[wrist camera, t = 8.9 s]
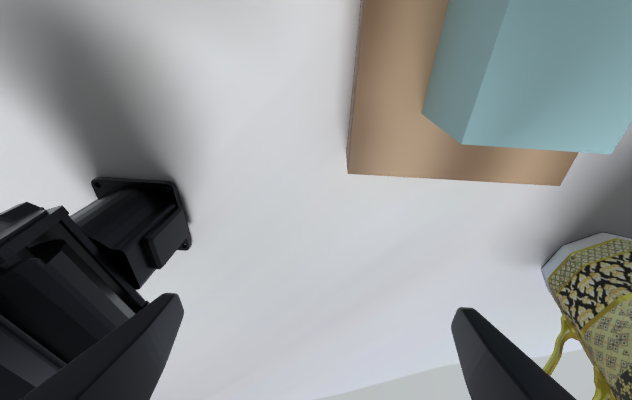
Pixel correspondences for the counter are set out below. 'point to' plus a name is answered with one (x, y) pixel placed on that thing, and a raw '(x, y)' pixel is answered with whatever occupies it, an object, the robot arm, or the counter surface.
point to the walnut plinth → (421, 107)
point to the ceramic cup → (596, 308)
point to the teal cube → (534, 74)
